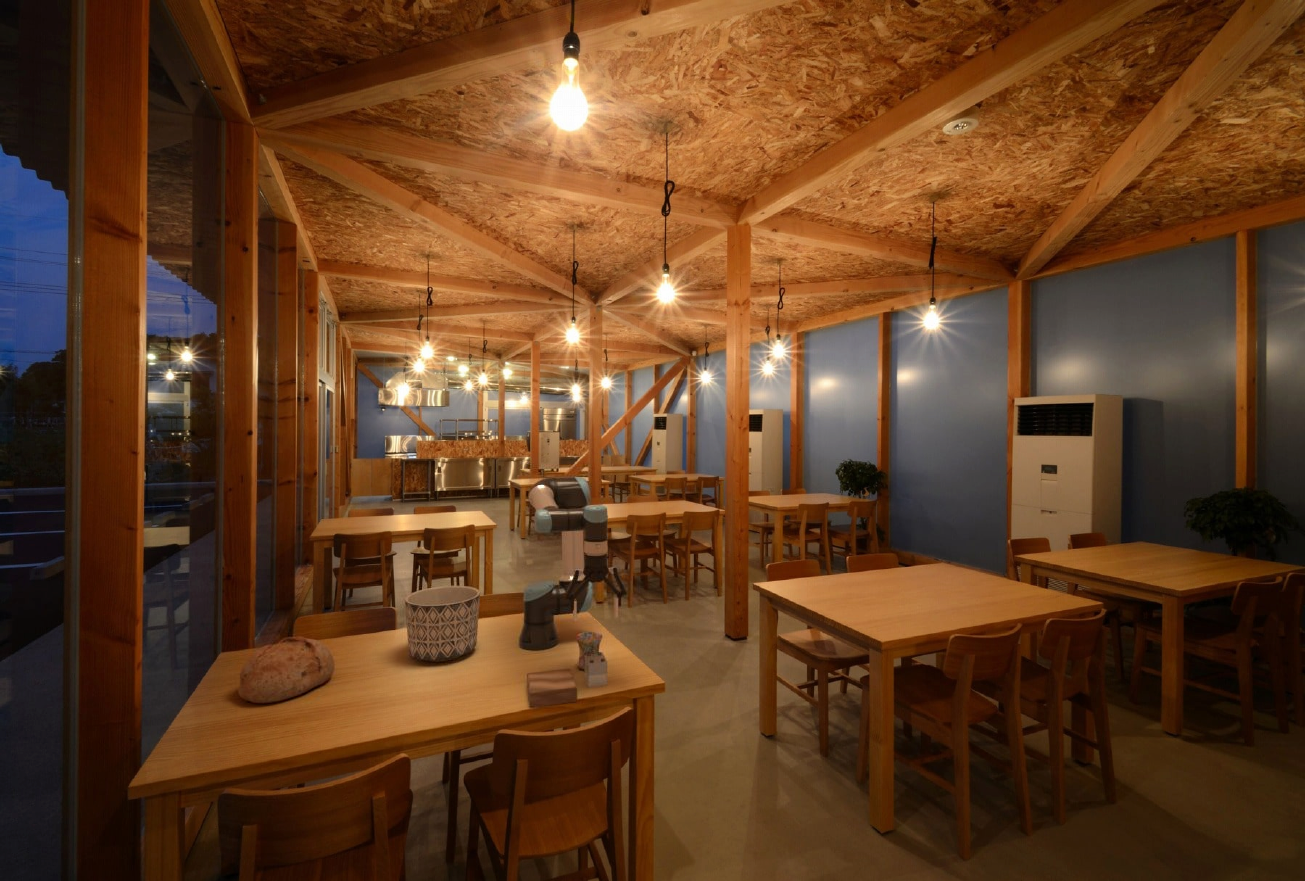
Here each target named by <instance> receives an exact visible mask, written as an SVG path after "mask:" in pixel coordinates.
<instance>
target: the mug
mask: <svg viewBox="0 0 1305 881" xmlns="http://www.w3.org/2000/svg"><path fill="white" fill-rule="evenodd" d="M575 639H576V641H577V644H578V649H579V657H578V661H577V663H576V665H577V668H579V669H580V670H585V654H587V653H590V654H591V653H598V652H600V646H601V642H602V639H603V635H602V634H601V633H599V632H597V631H596V632H595V631H586V632H584V631H583V632H582V633H578V634H576V636H575Z"/></svg>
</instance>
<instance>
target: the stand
mask: <svg viewBox="0 0 1305 881" xmlns="http://www.w3.org/2000/svg"><path fill="white" fill-rule="evenodd" d="M526 690H527V696H528V703H529V708H530V709H531V708H532V709H533V708H538V707H543V706H544V707H545V706H546V707H547V706H552V705H560V704H568V703H577V702H578V687H577V684H576V681H575V678H574V676H573V673H572V670H571V668H561V669H552V670H551V669H550V670H543V671H536V672H527V673H526Z"/></svg>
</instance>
